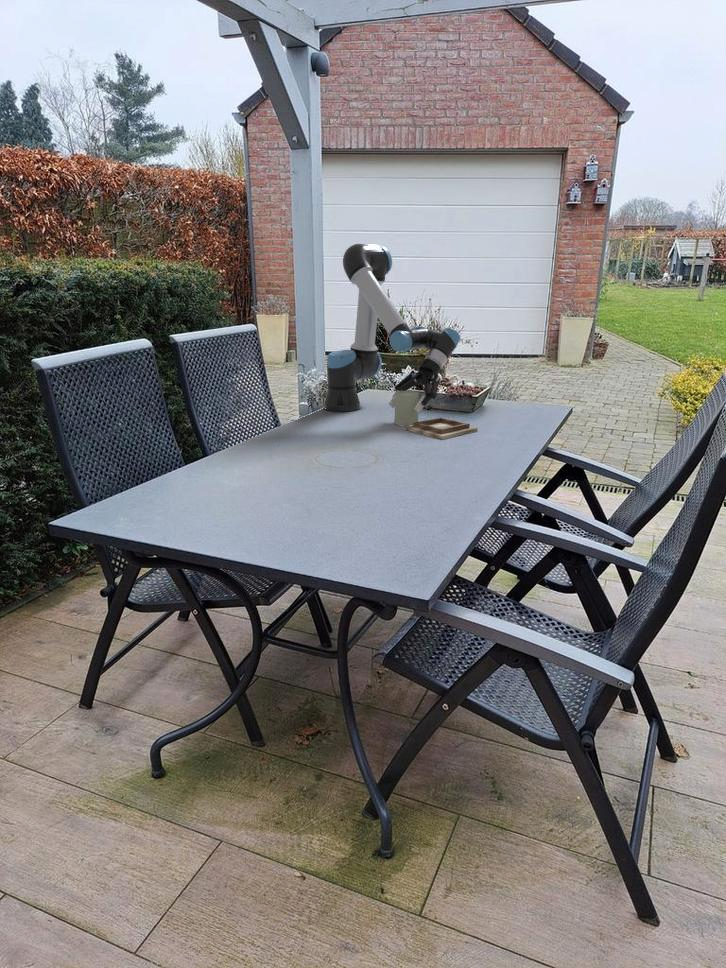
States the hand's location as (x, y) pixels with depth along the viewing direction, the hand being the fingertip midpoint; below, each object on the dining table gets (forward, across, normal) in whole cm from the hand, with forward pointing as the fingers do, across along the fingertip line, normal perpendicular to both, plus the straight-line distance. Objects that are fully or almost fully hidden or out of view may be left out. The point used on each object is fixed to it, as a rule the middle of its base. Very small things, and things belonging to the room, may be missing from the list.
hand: (403, 408), depth 237 cm
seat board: (+2, -17, -6) cm, 18 cm away
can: (+3, 0, -6) cm, 6 cm away
